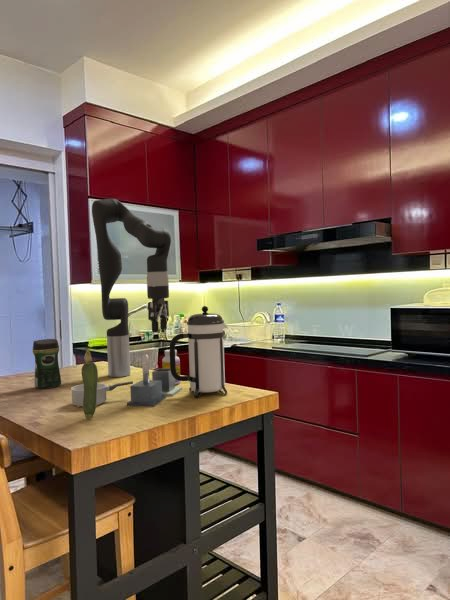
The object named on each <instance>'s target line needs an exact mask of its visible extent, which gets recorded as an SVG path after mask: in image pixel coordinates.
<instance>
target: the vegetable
mask: <svg viewBox="0 0 450 600" xmlns="http://www.w3.org/2000/svg"><path fill="white" fill-rule="evenodd" d="M83 357H84V358H83V359H84V362H85V363H83V365H82V367H81V378H82V384H83V385H84V398H83V407H82V408H83V413H84V416H85V417H84V418H85V419H86V420H88V419H89V420H92V419H93V417H94V415H95V413H96V407H97V406H96V399H97V397H96V395H97V383H99V382H98V379H99V377H98V376H99V374H98V372H99V371H98V367H97V364H95V362H94V361H93V358H92V354H91V352H90V348H88V349H86V351H85V354H84V356H83Z"/></svg>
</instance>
